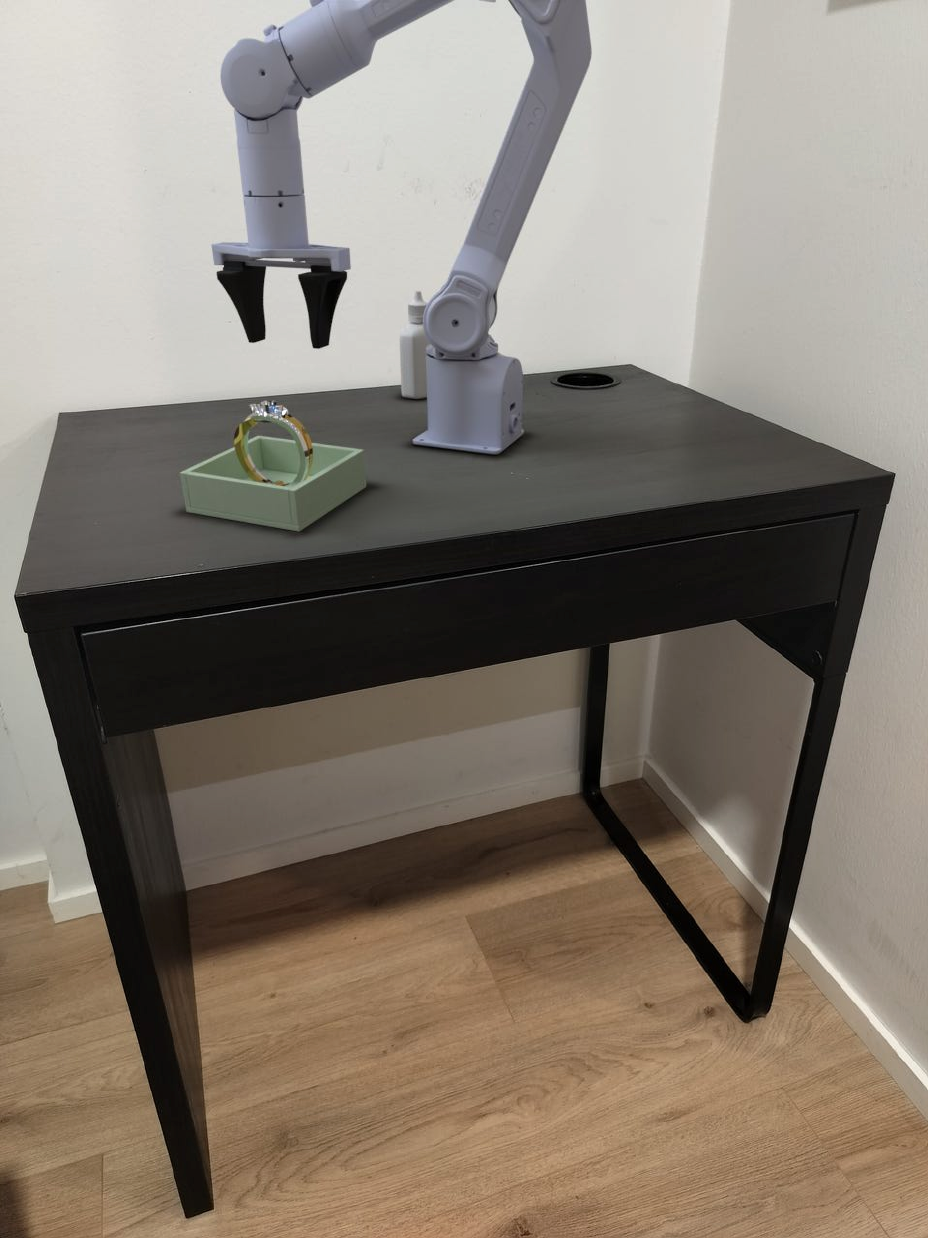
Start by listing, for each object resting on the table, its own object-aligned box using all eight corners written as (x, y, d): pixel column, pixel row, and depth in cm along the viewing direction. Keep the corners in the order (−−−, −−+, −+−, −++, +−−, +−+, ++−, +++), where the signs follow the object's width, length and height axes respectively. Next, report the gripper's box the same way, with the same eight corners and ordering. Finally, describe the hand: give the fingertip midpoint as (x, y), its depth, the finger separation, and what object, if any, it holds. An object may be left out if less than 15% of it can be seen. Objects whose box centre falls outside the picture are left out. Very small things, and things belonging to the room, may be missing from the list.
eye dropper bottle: (392, 393, 109) (387, 290, 103) (433, 387, 111) (430, 286, 105) (408, 401, 105) (404, 295, 100) (449, 395, 108) (448, 291, 102)
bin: (366, 486, 80) (364, 449, 78) (299, 532, 71) (294, 490, 69) (262, 471, 84) (258, 435, 82) (186, 512, 74) (179, 472, 73)
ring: (234, 493, 77) (222, 402, 73) (257, 482, 79) (246, 393, 76) (300, 506, 74) (291, 411, 70) (322, 493, 77) (314, 402, 73)
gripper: (184, 196, 82) (205, 345, 89) (318, 199, 77) (330, 357, 84) (229, 192, 88) (246, 333, 94) (357, 194, 83) (366, 343, 89)
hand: (288, 343), depth 89 cm, fingers open, 7 cm apart
